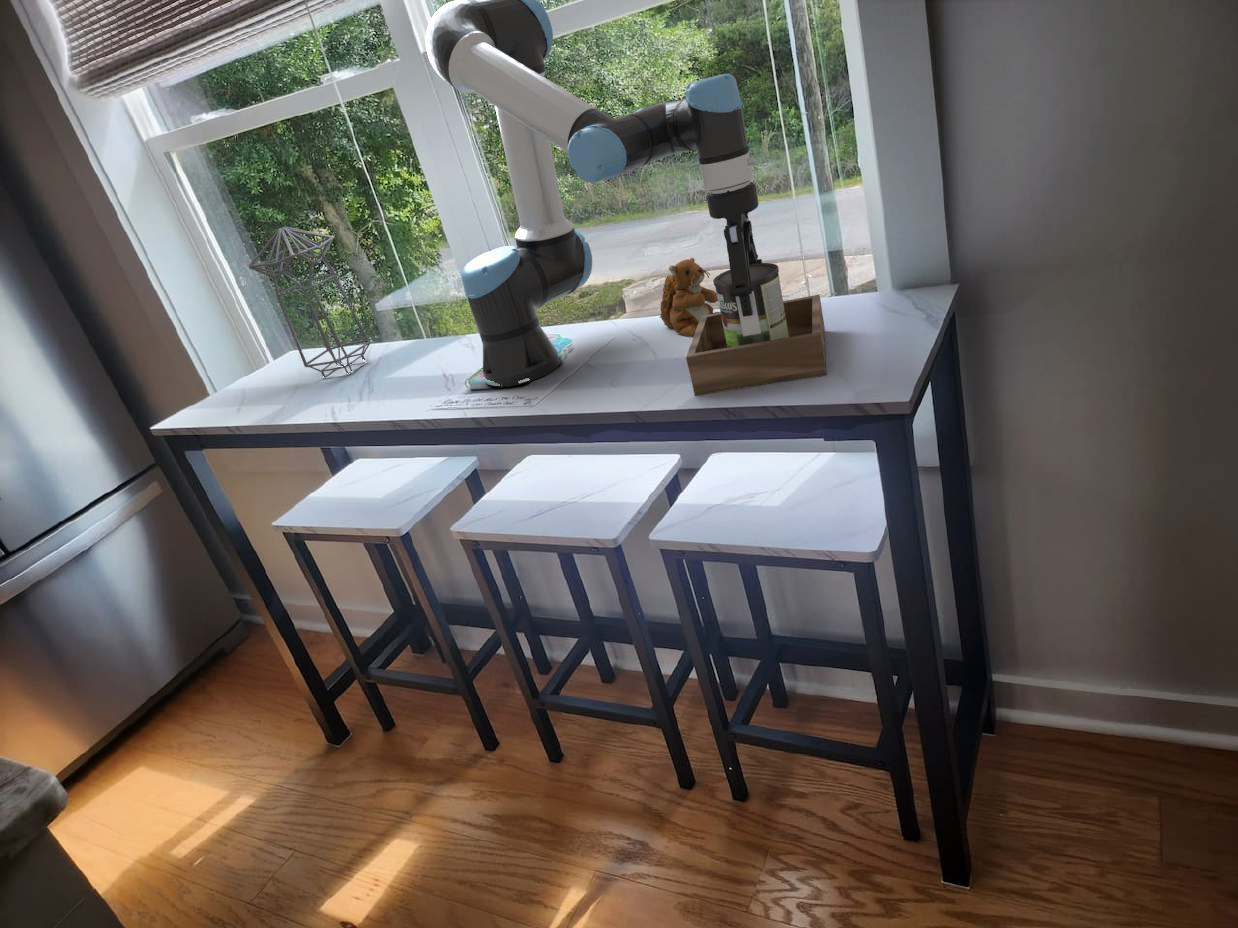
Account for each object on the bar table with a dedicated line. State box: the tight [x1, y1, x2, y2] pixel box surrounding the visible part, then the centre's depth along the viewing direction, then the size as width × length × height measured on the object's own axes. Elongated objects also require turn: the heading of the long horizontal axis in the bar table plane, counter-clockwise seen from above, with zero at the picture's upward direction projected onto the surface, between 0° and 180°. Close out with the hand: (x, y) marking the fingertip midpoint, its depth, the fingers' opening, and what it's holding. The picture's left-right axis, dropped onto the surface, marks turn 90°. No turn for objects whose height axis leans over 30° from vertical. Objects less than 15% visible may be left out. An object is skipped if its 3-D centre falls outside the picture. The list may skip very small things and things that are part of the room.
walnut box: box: [685, 294, 828, 397], centre depth 139 cm, size 20×20×6 cm
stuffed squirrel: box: [659, 257, 720, 337], centre depth 166 cm, size 10×14×13 cm
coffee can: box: [712, 262, 789, 348], centre depth 137 cm, size 10×10×14 cm
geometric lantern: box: [248, 226, 371, 377], centre depth 197 cm, size 16×16×35 cm
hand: (754, 320), depth 138 cm, fingers open, 13 cm apart
